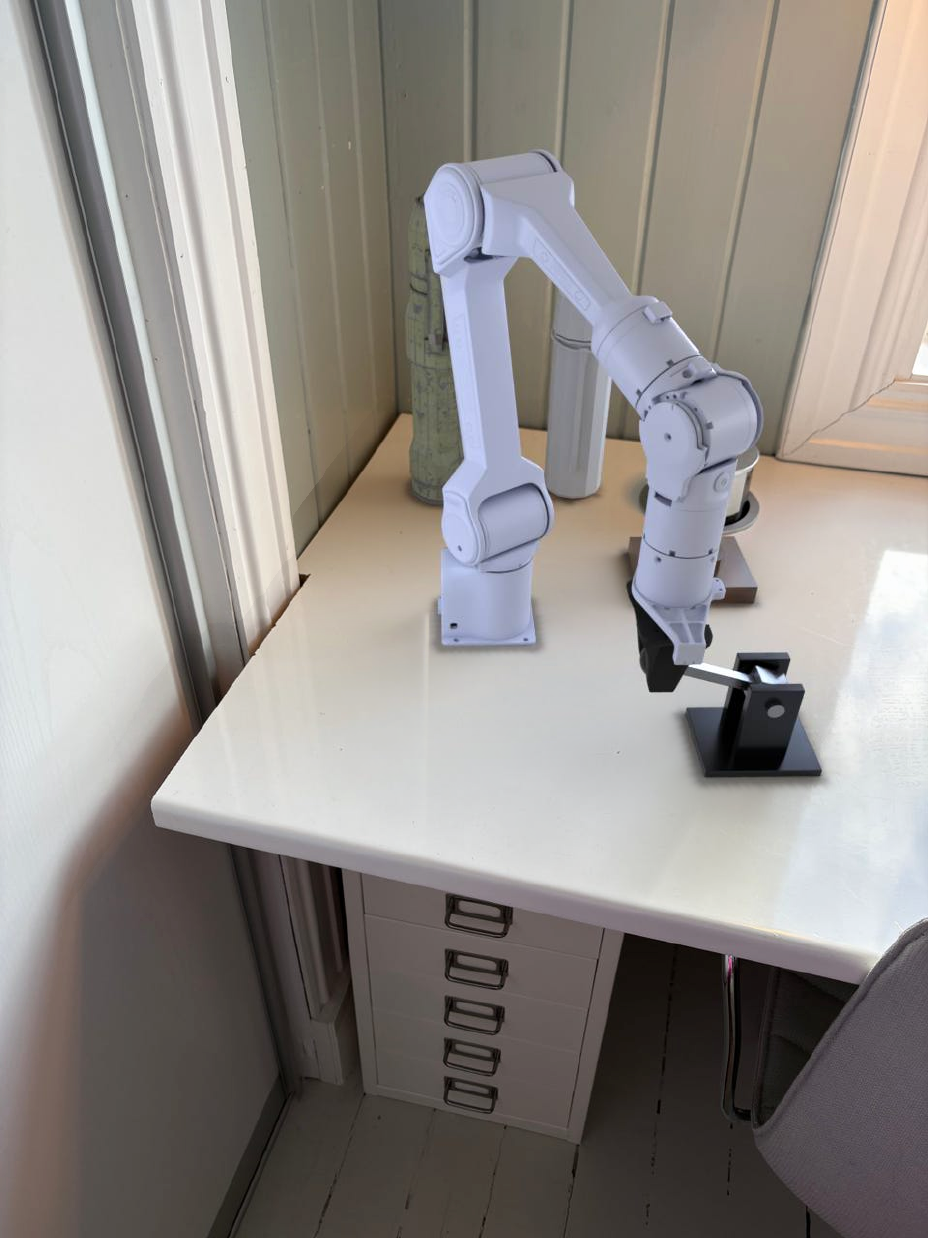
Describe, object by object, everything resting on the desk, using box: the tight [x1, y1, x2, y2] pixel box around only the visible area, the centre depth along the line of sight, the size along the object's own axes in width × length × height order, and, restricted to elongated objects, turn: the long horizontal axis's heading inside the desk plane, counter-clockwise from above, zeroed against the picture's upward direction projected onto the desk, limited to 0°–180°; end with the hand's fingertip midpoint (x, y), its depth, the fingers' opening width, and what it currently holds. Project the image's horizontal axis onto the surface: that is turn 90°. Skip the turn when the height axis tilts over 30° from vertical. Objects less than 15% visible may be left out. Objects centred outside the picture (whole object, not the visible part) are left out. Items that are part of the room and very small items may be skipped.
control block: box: [627, 535, 759, 605], centre depth 102 cm, size 12×10×4 cm
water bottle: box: [544, 289, 613, 500], centre depth 110 cm, size 9×8×25 cm
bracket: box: [685, 651, 823, 779], centre depth 80 cm, size 10×8×9 cm
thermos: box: [404, 191, 464, 507], centre depth 108 cm, size 9×12×35 cm
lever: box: [638, 648, 789, 695], centre depth 77 cm, size 13×3×3 cm, turn 91°
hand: (656, 674), depth 77 cm, fingers closed on lever, 3 cm apart
